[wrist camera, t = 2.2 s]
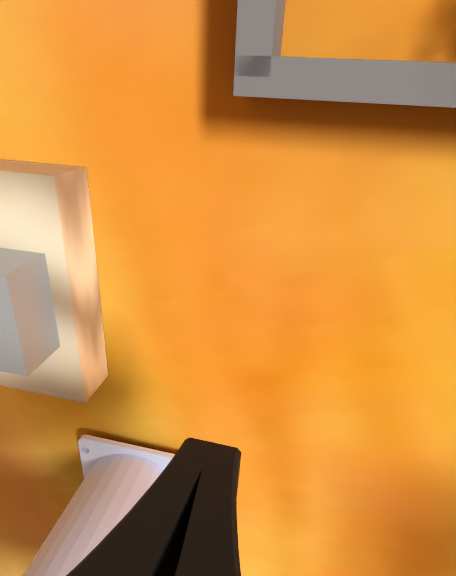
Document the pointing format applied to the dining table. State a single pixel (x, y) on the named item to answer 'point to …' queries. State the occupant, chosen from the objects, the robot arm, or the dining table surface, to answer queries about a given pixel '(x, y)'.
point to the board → (58, 271)
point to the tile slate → (25, 312)
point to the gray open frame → (328, 69)
